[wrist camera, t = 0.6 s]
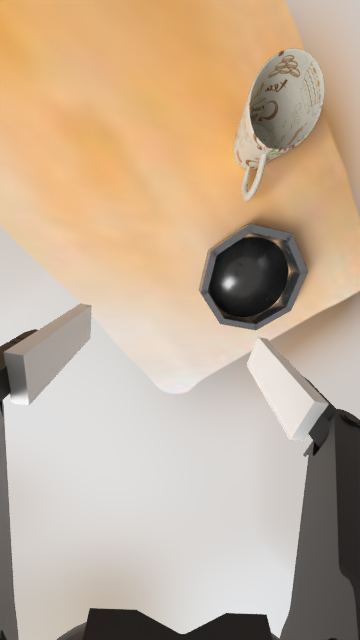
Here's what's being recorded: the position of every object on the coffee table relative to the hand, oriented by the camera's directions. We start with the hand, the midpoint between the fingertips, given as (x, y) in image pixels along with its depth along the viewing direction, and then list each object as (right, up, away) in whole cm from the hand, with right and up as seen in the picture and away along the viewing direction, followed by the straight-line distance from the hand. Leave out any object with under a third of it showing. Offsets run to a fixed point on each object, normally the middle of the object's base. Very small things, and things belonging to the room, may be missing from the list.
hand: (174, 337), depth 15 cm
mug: (+12, +27, +16) cm, 34 cm away
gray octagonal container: (+14, +9, +23) cm, 28 cm away
